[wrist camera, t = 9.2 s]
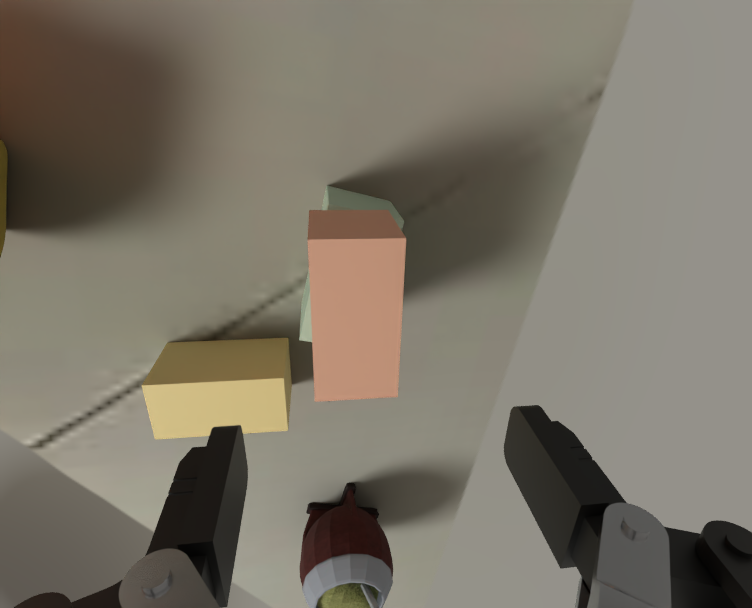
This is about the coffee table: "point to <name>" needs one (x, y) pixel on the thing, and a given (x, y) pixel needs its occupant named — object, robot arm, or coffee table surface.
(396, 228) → the terracotta brick
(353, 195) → the sage brick
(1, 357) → the coffee table surface
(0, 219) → the flower pot
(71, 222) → the coffee table surface
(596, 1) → the coffee table surface
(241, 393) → the ochre brick
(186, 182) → the coffee table surface
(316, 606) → the mate gourd
